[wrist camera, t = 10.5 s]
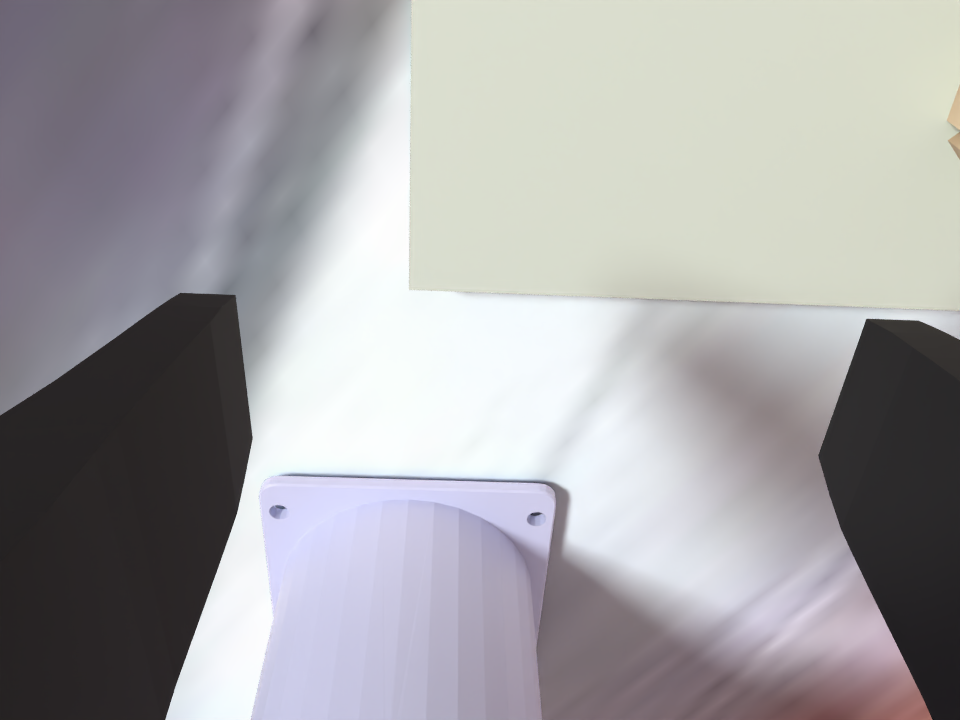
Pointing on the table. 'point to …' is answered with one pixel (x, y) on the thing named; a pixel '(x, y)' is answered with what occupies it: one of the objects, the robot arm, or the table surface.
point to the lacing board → (687, 150)
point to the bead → (955, 123)
